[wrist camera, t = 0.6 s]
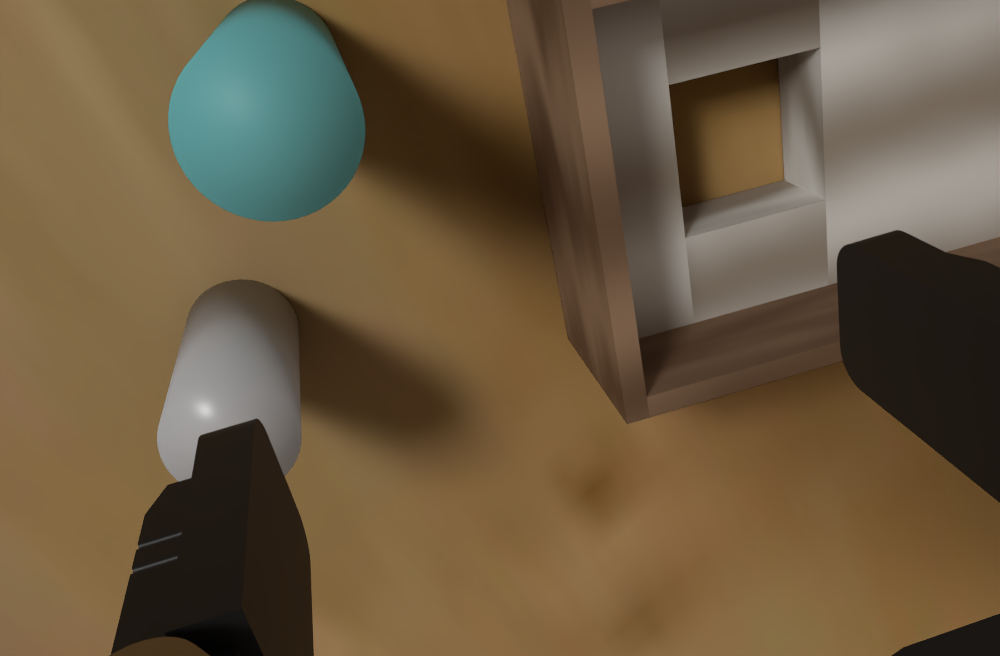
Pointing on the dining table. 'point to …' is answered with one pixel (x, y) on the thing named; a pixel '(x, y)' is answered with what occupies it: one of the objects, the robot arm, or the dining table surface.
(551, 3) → the peg box
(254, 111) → the teal peg
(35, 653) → the dining table surface
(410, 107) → the dining table surface
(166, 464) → the grey peg
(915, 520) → the dining table surface
